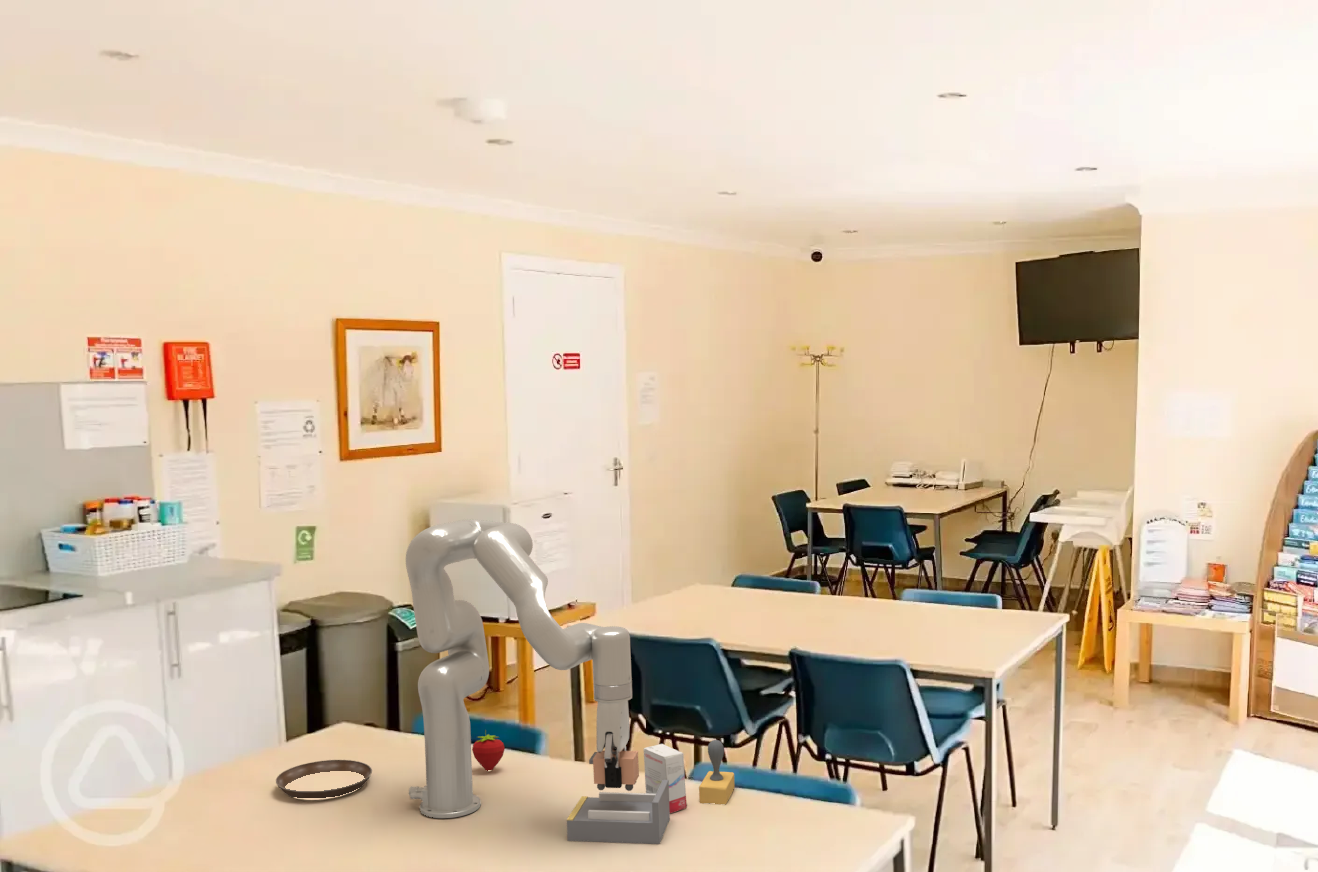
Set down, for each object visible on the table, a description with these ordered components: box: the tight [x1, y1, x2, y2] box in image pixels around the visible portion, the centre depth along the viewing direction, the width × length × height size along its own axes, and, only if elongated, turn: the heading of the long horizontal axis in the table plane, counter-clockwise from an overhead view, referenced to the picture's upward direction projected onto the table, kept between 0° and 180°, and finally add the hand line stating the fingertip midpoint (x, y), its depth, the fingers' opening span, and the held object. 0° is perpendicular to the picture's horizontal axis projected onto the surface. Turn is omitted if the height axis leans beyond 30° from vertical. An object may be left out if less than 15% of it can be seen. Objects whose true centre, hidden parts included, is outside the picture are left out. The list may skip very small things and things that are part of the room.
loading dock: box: [566, 780, 671, 845], centre depth 223 cm, size 18×13×8 cm
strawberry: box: [471, 729, 505, 772], centre depth 260 cm, size 6×8×10 cm
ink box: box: [643, 743, 688, 814], centre depth 235 cm, size 9×5×12 cm, turn 33°
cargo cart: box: [588, 750, 640, 792], centre depth 222 cm, size 9×5×6 cm, turn 81°
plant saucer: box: [275, 759, 373, 798], centre depth 253 cm, size 21×21×3 cm
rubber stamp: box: [698, 739, 735, 805], centre depth 240 cm, size 10×6×12 cm, turn 166°
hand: (616, 781), depth 222 cm, fingers closed on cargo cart, 5 cm apart
